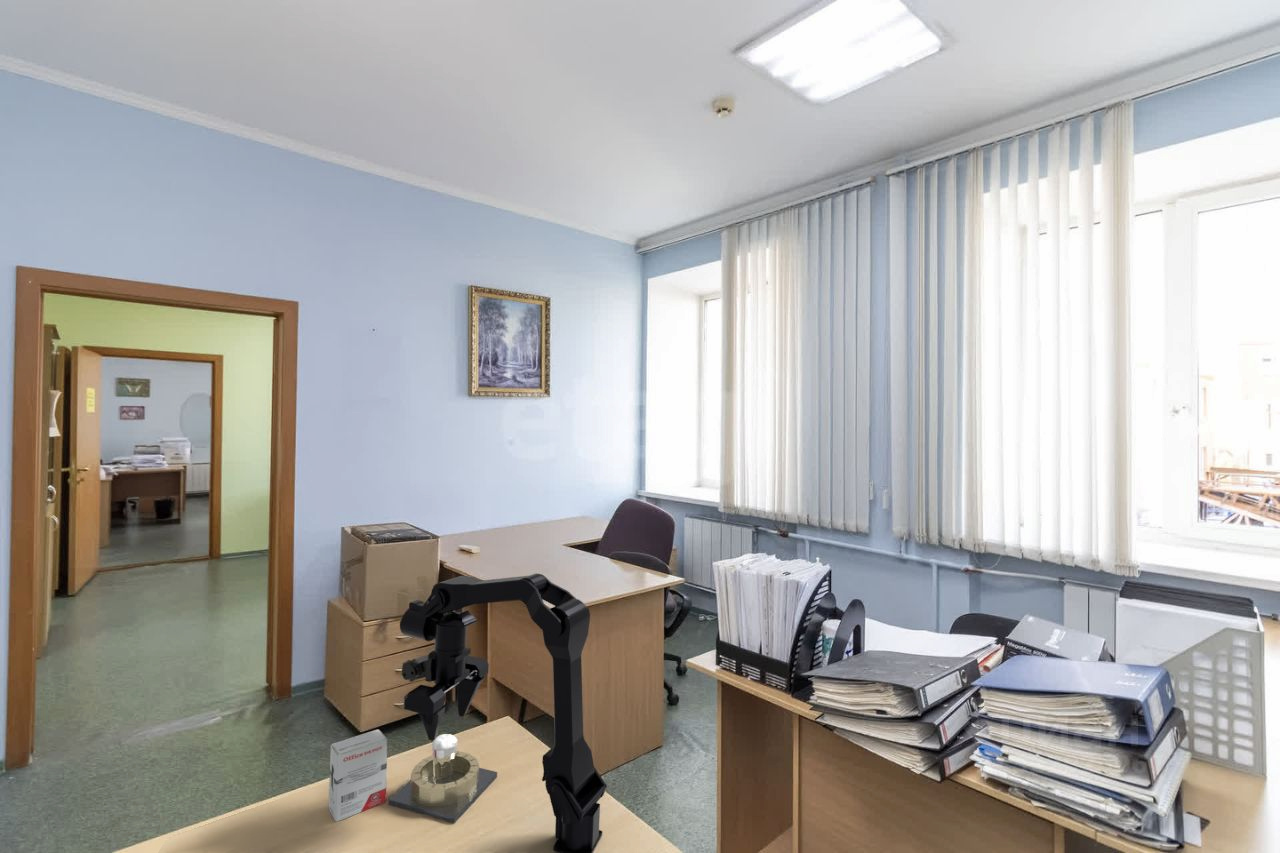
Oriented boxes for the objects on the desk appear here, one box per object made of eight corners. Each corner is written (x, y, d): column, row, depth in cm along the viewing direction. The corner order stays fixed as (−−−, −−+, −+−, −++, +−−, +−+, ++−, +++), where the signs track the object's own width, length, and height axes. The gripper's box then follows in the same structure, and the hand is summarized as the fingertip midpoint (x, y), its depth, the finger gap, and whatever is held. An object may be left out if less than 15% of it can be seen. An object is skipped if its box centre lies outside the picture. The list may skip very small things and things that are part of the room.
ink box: (377, 789, 109) (379, 726, 109) (386, 802, 106) (388, 738, 106) (327, 808, 104) (329, 742, 104) (335, 823, 100) (337, 754, 100)
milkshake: (451, 795, 107) (453, 741, 107) (425, 790, 108) (427, 736, 108) (464, 780, 111) (466, 728, 111) (438, 775, 112) (440, 724, 112)
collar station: (497, 777, 114) (497, 756, 114) (454, 823, 101) (455, 800, 101) (436, 762, 119) (437, 742, 119) (388, 804, 105) (388, 782, 105)
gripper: (444, 623, 121) (441, 698, 121) (379, 657, 103) (376, 744, 103) (491, 631, 118) (488, 707, 118) (433, 667, 100) (429, 757, 100)
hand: (447, 727), depth 110 cm, fingers open, 9 cm apart
